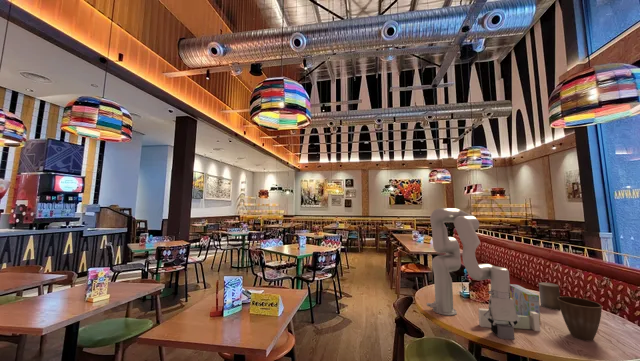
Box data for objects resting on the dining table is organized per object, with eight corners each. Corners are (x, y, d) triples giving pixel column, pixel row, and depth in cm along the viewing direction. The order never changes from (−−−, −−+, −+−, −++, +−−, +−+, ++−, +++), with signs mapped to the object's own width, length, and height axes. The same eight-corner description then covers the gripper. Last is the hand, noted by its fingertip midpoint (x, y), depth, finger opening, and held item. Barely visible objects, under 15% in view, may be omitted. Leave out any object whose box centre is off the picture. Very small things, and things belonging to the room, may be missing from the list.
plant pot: (614, 343, 116) (610, 305, 118) (592, 347, 112) (588, 308, 114) (573, 328, 130) (570, 295, 132) (552, 332, 126) (549, 297, 128)
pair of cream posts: (481, 327, 131) (480, 310, 132) (478, 324, 134) (478, 308, 135) (540, 331, 127) (539, 314, 128) (536, 328, 130) (534, 311, 131)
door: (492, 326, 131) (491, 314, 131) (491, 325, 132) (490, 312, 133) (533, 329, 128) (532, 316, 129) (531, 328, 130) (529, 315, 130)
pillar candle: (566, 310, 155) (563, 284, 157) (549, 309, 155) (546, 283, 158) (551, 304, 165) (549, 280, 167) (536, 304, 165) (534, 279, 167)
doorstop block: (500, 338, 119) (499, 326, 119) (491, 331, 126) (491, 320, 126) (514, 339, 118) (513, 327, 119) (505, 332, 125) (504, 321, 126)
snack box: (542, 325, 134) (539, 295, 135) (529, 324, 135) (527, 294, 137) (519, 310, 154) (517, 284, 156) (509, 309, 155) (507, 283, 157)
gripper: (484, 295, 122) (486, 336, 120) (525, 298, 119) (528, 339, 117) (477, 290, 129) (479, 328, 127) (515, 292, 126) (518, 331, 124)
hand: (502, 333), depth 122 cm, fingers closed on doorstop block, 6 cm apart
